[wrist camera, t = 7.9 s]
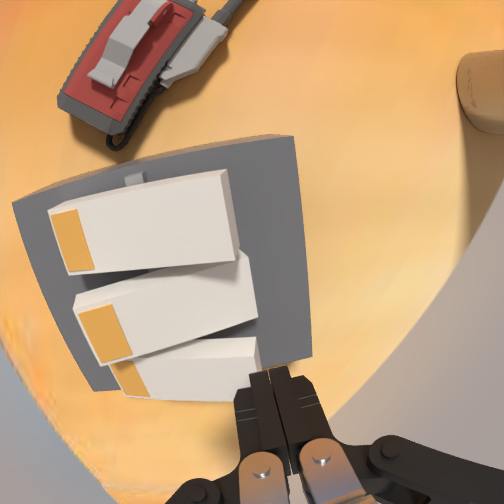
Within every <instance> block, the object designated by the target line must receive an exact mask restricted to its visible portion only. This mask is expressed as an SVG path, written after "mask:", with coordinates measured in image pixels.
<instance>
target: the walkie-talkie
mask: <svg viewBox="0 0 504 504" xmlns="http://www.w3.org/2000/svg"><path fill="white" fill-rule="evenodd" d="M244 1H245V0H229V1H228V2H227V3H226V4H225V6H224V7H223V8H222V9H221V10H218V11H217V12H216V13H215V14H214V16H213V17H212V18H211V19H209V18H207V17H205V16H204V13H205V11H206V10H205V9H204V8H203V7H201V6H199V5H197V4H196V3H197V2H198V1H197V0H119V1H118V2H117V3H116V4H115V6H114V7H113V8H112V10H111V11H110V12H109V14H108V15H107V16H106V18H105V19H104V20H103V22H102V23H101V25H100V26H99V27H98V30H97V32H95V33H94V36H93V38H91V39H90V42H89V44H87V45H86V48H85V50H84V51H82V54H81V56H80V57H79V58H78V61H77V63H75V65H74V68H73V69H72V70H71V73H70V75H69V76H68V77H67V80H66V82H64V84H63V87H62V89H60V93H59V95H57V104H58V108H60V109H62V110H63V111H65V112H67V113H69V114H71V115H73V116H75V117H77V118H79V119H81V120H83V121H84V122H86V123H88V124H90V125H92V126H94V127H96V128H98V129H99V130H101V131H103V132H105V133H107V134H108V135H107V139H106V144H107V146H108V147H109V148H110V149H111V150H112V151H118V150H121V149H122V148H123V147H124V146H125V145H126V144H127V143H128V141H129V139H130V137H131V136H132V134H133V132H134V130H135V129H136V127H137V125H138V123H139V122H140V120H141V118H142V117H143V115H144V113H145V111H146V110H147V108H148V107H149V105H150V104H151V102H152V101H153V99H154V98H155V97H156V96H157V95H159V94H160V93H162V92H163V91H164V90H165V88H167V89H169V88H170V86H171V85H172V83H173V82H175V81H177V80H179V79H182V78H184V77H187V76H190V75H192V74H195V73H197V72H198V71H199V69H200V68H201V66H202V65H203V64H204V62H205V61H206V60H207V58H208V57H209V55H210V54H211V53H212V51H213V50H214V49H215V48H216V46H217V45H218V44H219V43H221V42H222V41H223V40H224V39H225V37H226V36H227V33H228V29H227V28H226V26H227V24H228V23H229V22H230V21H231V20H232V15H233V14H234V13H235V12H236V11H237V9H238V8H239V7H240V6H241V5H242V4H243V3H244ZM160 81H161V82H160ZM158 84H160V87H159V88H158V89H157V85H158ZM154 90H155V91H154ZM124 133H126V135H125V137H124V139H123V140H122V142H121V143H120V144H119V145H118V146H115V145H114V144H113V143H112V139H113V136H114V135H121V134H124Z"/></svg>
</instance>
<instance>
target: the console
mask: <svg viewBox="0 0 504 504" xmlns="http://www.w3.org/2000/svg"><path fill="white" fill-rule="evenodd" d="M222 169H227V172H228V178H229V184H230V190H231V196H232V202H233V208H234V214H235V220H236V225H237V231H238V237H239V243H240V247H239V249H240V250H241V251H242V252H243V253H244V254H246V255H247V256H248V258H249V264H250V270H251V276H252V282H253V288H254V294H255V300H256V306H257V312H258V317H257V318H254V319H251V320H249V321H246V322H243V323H240V324H237V325H234V326H231V327H228V328H226V329H223V330H220V331H217V332H214V333H211V334H208V335H205V336H202V337H199V338H195V339H192V340H199V339H224V338H242V337H256V339H257V344H258V350H259V355H260V361H261V367H262V368H267V367H271V366H276V365H280V364H284V363H289V362H293V361H297V360H301V359H305V358H309V357H312V336H311V318H310V301H309V286H308V272H307V260H306V248H305V236H304V225H303V215H302V205H301V195H300V186H299V177H298V168H297V160H296V152H295V144H294V136H288V135H273V134H267V135H259V136H252V137H246V138H239V139H233V140H227V141H221V142H215V143H210V144H204V145H199V146H194V147H189V148H184V149H179V150H174V151H170V152H165V153H161V154H156V155H152V156H148V157H144V158H139V159H135V160H131V161H128V162H124V163H120V164H116V165H112V166H109V167H105V168H102V169H98V170H95V171H91V172H88V173H84V174H81V175H78V176H75V177H71V178H68V179H65V180H62V181H59V182H56V183H53V184H51V185H49V186H46V187H44V188H42V189H40V190H37V191H35V192H33V193H31V194H29V195H27V196H24V197H22V198H20V199H18V200H16V201H14V202H12V206H13V210H14V213H15V217H16V220H17V224H18V227H19V230H20V233H21V237H22V240H23V243H24V246H25V249H26V251H27V254H28V257H29V260H30V263H31V265H32V268H33V271H34V273H35V276H36V278H37V281H38V283H39V286H40V288H41V291H42V293H43V295H44V298H45V300H46V302H47V305H48V307H49V309H50V311H51V313H52V316H53V318H54V320H55V322H56V324H57V326H58V328H59V330H60V332H61V334H62V336H63V338H64V340H65V342H66V344H67V346H68V348H69V350H70V351H71V353H72V355H73V357H74V359H75V361H76V362H77V364H78V366H79V368H80V369H81V371H82V373H83V375H84V376H85V378H86V380H87V381H88V383H89V385H90V386H91V388H92V390H93V391H94V392H95V391H110V390H122V389H121V388H120V386H119V384H118V382H117V380H116V379H115V377H114V375H113V373H112V371H111V369H110V367H109V366H108V365H105V366H101V367H100V365H99V363H98V361H97V359H96V357H95V355H94V353H93V351H92V349H91V348H90V346H89V344H88V341H87V339H86V337H85V335H84V333H83V331H82V329H81V327H80V325H79V323H78V320H77V318H76V316H75V314H74V311H73V306H74V302H75V298H76V295H77V294H80V293H84V292H87V291H90V290H93V289H97V288H100V287H104V286H107V285H110V284H114V283H117V282H120V281H124V280H127V279H130V278H134V277H137V276H140V275H144V274H147V273H151V272H154V271H157V270H161V269H164V268H168V267H159V268H148V269H137V270H126V271H115V272H103V273H92V274H80V275H68V272H67V270H66V267H65V264H64V261H63V258H62V256H61V253H60V250H59V247H58V244H57V241H56V237H55V234H54V231H53V228H52V224H51V221H50V218H49V214H48V211H47V210H49V209H51V208H53V207H55V206H57V205H59V204H61V203H63V202H65V201H68V200H72V199H76V198H80V197H84V196H88V195H93V194H97V193H101V192H105V191H110V190H114V189H119V188H123V187H128V186H133V185H138V184H142V183H147V182H152V181H158V180H163V179H168V178H174V177H179V176H185V175H191V174H197V173H203V172H209V171H216V170H222ZM170 267H171V266H170Z"/></svg>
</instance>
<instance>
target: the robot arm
mask: <svg viewBox="0 0 504 504" xmlns="http://www.w3.org/2000/svg"><path fill="white" fill-rule="evenodd" d="M457 89H458V94H459V98H460V102H461V105H462V107H463V110H464V112H465V114H466V116H467V117H468V119H469V120H470V122H471V123H472V124H473V125H474V126H475V127H476V128H478V129H479V130H481V131H484V132H489V133H496V134H502V135H504V50H494V51H484V52H475V53H469V54H467V55H465V56H464V57H463V58H462V60H461V62H460V64H459V67H458V71H457ZM268 371H269V376H268V372H267V370H264V371H259V372H255V373H250V374H249V380H250V385H251V387H247V388H242V389H237V392H236V395H235V397H234V400H233V401H234V409H235V417H236V424H237V432H238V439H239V447H240V454H241V457H240V461H239V464H238V466H237V467H236V468H235V469H234V470H233V471H232V472H231V473H229V474H228V475H226V476H223V477H221V478H219V479H216V480H214V481H210V480H207V479H203V478H196V479H191V480H189V481H187V482H185V483H184V484H182V485H181V486H180V488H179V489H178V490H177V491H176V492H175V493H174V494H173V495H172V497H171V498H170V499H169V500H168V501H167V502H166V503H165V504H290V500H289V494H290V489H289V484H288V478H287V476H289V475H291V470H290V464H291V469H292V472H293V474H298V473H299V475H300V478H301V482H302V487H303V492H304V495H305V497H306V500H307V502H308V504H377V502H379V503H381V504H504V470H500V469H496V468H493V467H489V466H485V465H481V464H478V463H475V462H472V461H468V460H465V459H462V458H458V457H455V456H452V455H449V454H446V453H443V452H440V451H437V450H435V449H432V448H429V447H426V446H423V445H421V444H418V443H415V442H412V441H410V440H407V439H405V438H402V437H399V436H395V435H387V436H383V437H381V438H379V439H377V440H376V441H375V442H374V443H373V444H372V445H359V446H352V445H346V444H343V443H341V442H340V441H338V440H337V439H336V438H335V437H334V436H333V434H332V432H331V429H330V427H329V424H328V422H327V419H326V417H325V414H324V412H323V409H322V407H321V404H320V402H319V399H318V397H317V395H316V392H315V389H314V387H313V384H312V383H311V382H310V381H309V380H308V379H307V378H306V377H305V376H304V375H302V376H298V377H293V378H291V376H290V373H289V370H288V367H287V366H282V367H278V368H273V369H269V370H268ZM269 377H270V380H269ZM270 382H271V384H270ZM288 457H289V458H288ZM289 461H290V464H289ZM376 501H377V502H376Z"/></svg>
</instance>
